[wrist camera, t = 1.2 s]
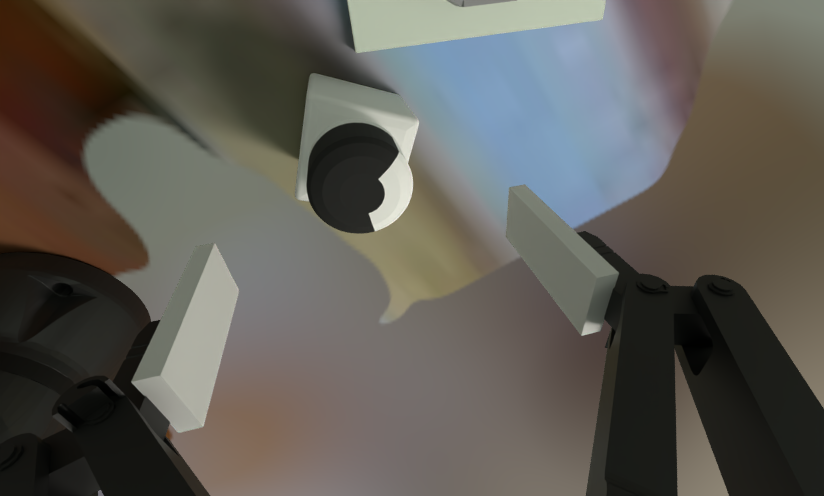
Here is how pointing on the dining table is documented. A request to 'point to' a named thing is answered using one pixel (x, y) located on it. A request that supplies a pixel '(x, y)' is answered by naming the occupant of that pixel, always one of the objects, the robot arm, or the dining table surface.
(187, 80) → the dining table surface
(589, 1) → the socket board
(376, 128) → the medicine bottle
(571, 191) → the dining table surface
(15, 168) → the dining table surface
